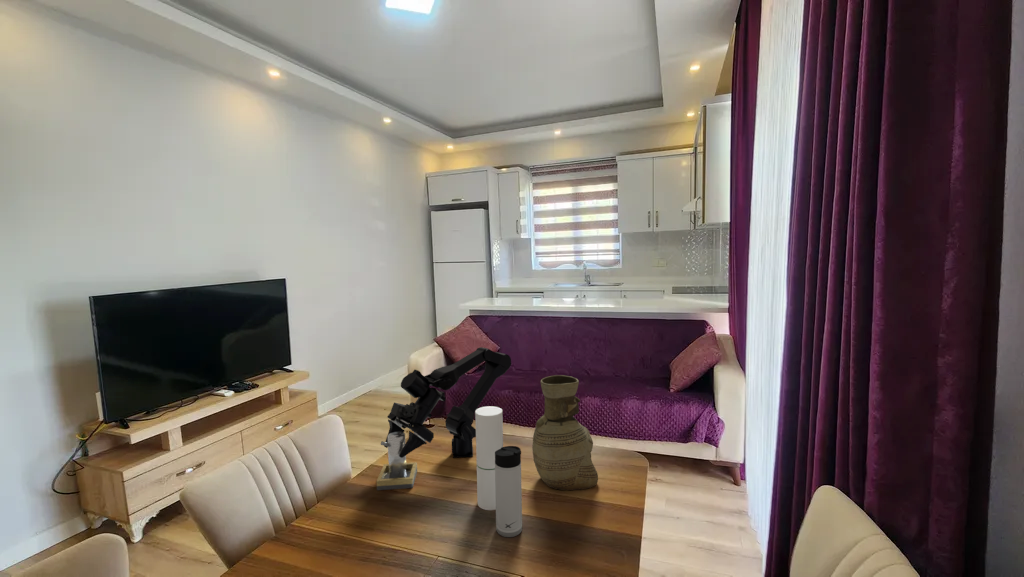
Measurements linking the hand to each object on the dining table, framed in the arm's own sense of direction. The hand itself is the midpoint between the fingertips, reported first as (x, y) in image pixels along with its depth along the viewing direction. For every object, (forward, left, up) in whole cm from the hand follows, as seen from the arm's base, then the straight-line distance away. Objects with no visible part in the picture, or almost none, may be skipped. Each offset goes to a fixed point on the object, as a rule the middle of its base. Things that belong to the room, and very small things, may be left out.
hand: (392, 451), depth 123 cm
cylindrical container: (-28, +14, -9) cm, 33 cm away
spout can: (0, 0, -8) cm, 8 cm away
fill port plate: (-1, -1, -9) cm, 9 cm away
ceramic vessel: (-50, +5, -9) cm, 51 cm away
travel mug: (-32, +26, -9) cm, 42 cm away
